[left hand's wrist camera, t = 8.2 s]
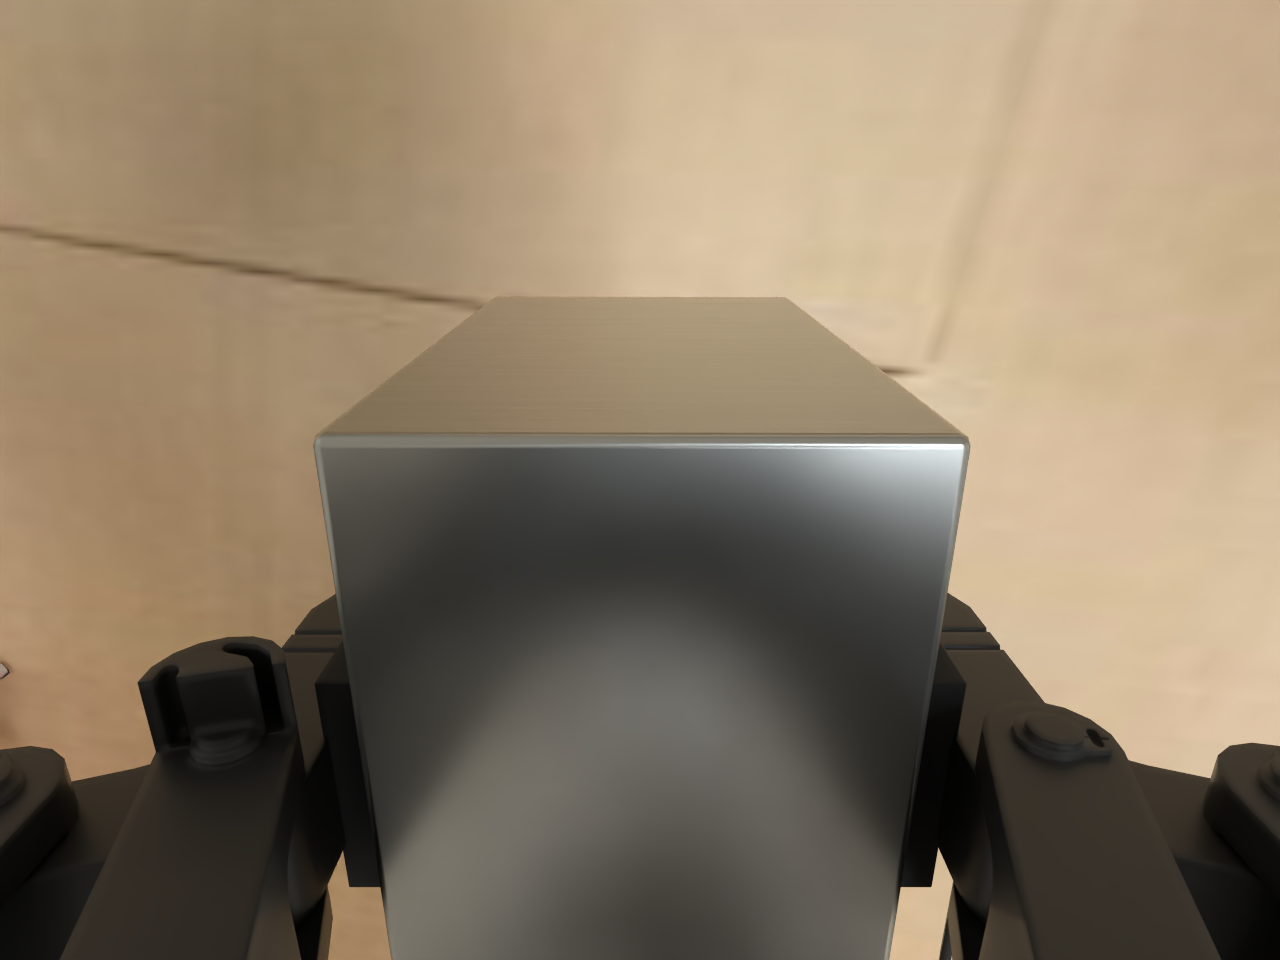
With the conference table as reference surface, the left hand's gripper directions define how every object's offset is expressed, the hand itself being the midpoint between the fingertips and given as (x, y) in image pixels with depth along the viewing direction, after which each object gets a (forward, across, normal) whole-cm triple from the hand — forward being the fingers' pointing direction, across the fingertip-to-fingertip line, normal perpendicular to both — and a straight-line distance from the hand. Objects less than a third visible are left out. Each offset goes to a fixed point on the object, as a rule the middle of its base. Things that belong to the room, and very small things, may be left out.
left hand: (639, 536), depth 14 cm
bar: (+1, 0, -8) cm, 8 cm away
